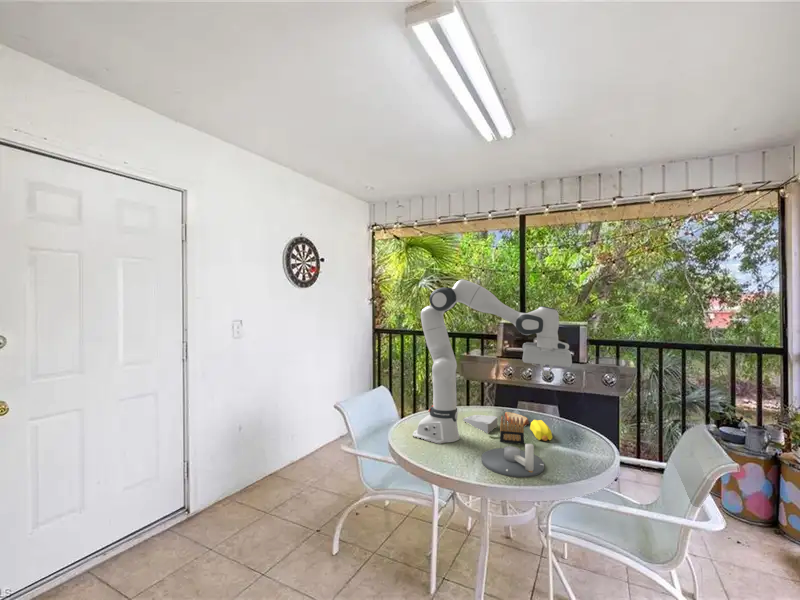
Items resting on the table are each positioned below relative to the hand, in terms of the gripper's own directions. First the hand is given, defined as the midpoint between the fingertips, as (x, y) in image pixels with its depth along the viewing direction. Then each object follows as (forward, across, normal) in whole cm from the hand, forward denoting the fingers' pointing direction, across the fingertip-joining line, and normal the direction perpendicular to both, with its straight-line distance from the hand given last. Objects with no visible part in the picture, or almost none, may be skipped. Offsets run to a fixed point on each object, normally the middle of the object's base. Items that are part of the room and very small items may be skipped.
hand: (546, 375), depth 165 cm
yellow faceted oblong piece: (+33, -3, +19) cm, 38 cm away
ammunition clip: (+34, -14, +4) cm, 37 cm away
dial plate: (+34, -10, -20) cm, 40 cm away
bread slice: (+33, -18, +38) cm, 54 cm away
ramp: (+34, -33, +22) cm, 53 cm away
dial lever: (+32, -7, -23) cm, 40 cm away
